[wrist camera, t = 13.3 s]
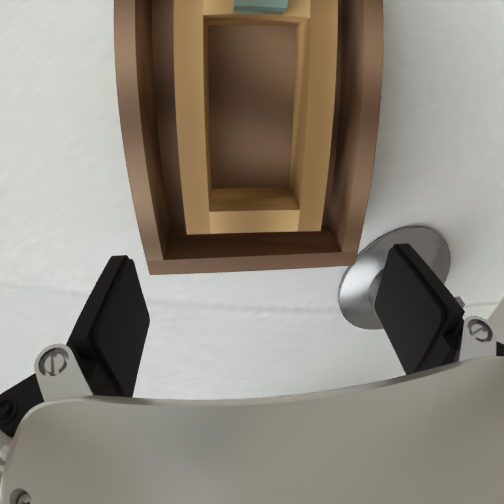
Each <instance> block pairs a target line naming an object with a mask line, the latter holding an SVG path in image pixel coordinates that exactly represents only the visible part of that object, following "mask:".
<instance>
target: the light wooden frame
mask: <svg viewBox="0 0 504 504" xmlns="http://www.w3.org/2000/svg"><path fill="white" fill-rule="evenodd" d="M238 24H246V25H277V26H291V27H296V53H295V87H294V112H293V133H292V152H291V169H290V185H289V188H224V189H212V170H211V146H210V117H209V69H208V25H238ZM337 36H338V0H174V81H175V105H176V123H177V138H178V152H179V164H180V175H181V186H182V196H183V206H184V215H185V224H186V232H187V235H189V234H218V233H253V232H297V231H321V224H322V217H323V210H324V202H325V194H326V186H327V177H328V168H329V159H330V149H331V138H332V127H333V115H334V101H335V85H336V66H337Z"/></svg>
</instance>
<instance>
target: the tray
mask: <svg viewBox="0 0 504 504" xmlns="http://www.w3.org/2000/svg"><path fill="white" fill-rule="evenodd" d="M114 50H115V69H116V83H117V95H118V105H119V115H120V123H121V131H122V139H123V146H124V153H125V159H126V165H127V171H128V177H129V183H130V188H131V194H132V199H133V204H134V209H135V214H136V218H137V223H138V228H139V232H140V236H141V241H142V245H143V249H144V253H145V257H146V261H147V265H148V269H149V273H150V275H163V274H191V273H217V272H240V271H261V270H281V269H299V268H317V267H334V266H350V265H355V261H356V257H357V253H358V248H359V243H360V239H361V234H362V229H363V224H364V219H365V213H366V208H367V202H368V196H369V190H370V184H371V178H372V171H373V164H374V157H375V149H376V141H377V132H378V123H379V112H380V101H381V86H382V68H383V0H338V36H337V66H336V85H335V101H334V115H333V127H332V138H331V149H330V159H329V168H328V177H327V186H326V194H325V202H324V210H323V217H322V224H321V231H297V232H253V233H218V234H189V235H187V232H186V224H185V215H184V206H183V196H182V186H181V175H180V164H179V152H178V138H177V123H176V105H175V81H174V0H114ZM295 53H296V27H291V26H277V25H246V24H238V25H208V69H209V117H210V146H211V170H212V189H224V188H289V185H290V169H291V152H292V133H293V112H294V87H295Z"/></svg>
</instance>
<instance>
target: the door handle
mask: <svg viewBox="0 0 504 504" xmlns="http://www.w3.org/2000/svg"><path fill="white" fill-rule="evenodd" d="M403 243H408V244H410V245H411V246H412V247H413V249H414V250H415V251H416V252H417V253H418V254H419V255H420V257H421V258H422V259H423V260H424V261H425V262H426V264H427V265H428V266H429V267H430V268H431V269H432V271H433V272H434V273H435V274H436V275H437V277H438V278H439V279H440V280H441V282H442V283H443V284H444V282H445V280H446V278H447V275H448V272H449V268H450V252H449V248H448V246H447V244H446V242H445V241H444V239H443V238H442V237H441V236H440V235H439V234H438V233H436V232H435V231H433V230H431V229H429V228H425V227H418V226H413V227H405V228H401V229H397V230H394V231H392V232H389V233H387V234H385V235H383V236H382V237H380V238H378V239H377V240H375V241H374V242H372V243H371V244H370V245H368V246H367V247H366V248H365V249H364V250H363V251H361V252H360V254H359V255H358V256H357V257H356V261H355V265H350V266H349V267H348V269H347V270H346V272H345V274H344V276H343V278H342V280H341V284H340V287H339V293H338V302H339V306H340V309H341V311H342V314H343V316H344V317H345V318H346V320H348V321H349V322H350V323H351V324H353V325H355V326H357V327H360V328H363V329H383V328H384V327H383V325H382V324H381V322H380V320H379V318H378V316H377V314H376V312H375V309H374V302H375V299H376V295H377V292H378V288H379V285H380V282H381V278H382V274H383V271H384V267H385V263H386V260H387V256H388V252H389V249H390V248H392V247H393V245H394V244H403ZM454 298H455V299H456V301H457V302H458V303H459V305H460V306H461V307H462V309H463V307H464V305H465V304H464V302H463V301H462V299H461V298H460V297H454Z"/></svg>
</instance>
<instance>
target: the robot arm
mask: <svg viewBox="0 0 504 504" xmlns="http://www.w3.org/2000/svg"><path fill="white" fill-rule="evenodd" d="M374 309H375V312H376V314H377V316H378V318H379V320H380V322H381V324H382V325H383V327H384V329H385V331H386V333H387V335H388V337H389V339H390V342H391V344H392V346H393V348H394V350H395V352H396V354H397V356H398V358H399V360H400V362H401V364H402V367H403V369H404V371H405V373H406V375H405V376H401V377H397V378H392V379H388V380H383V381H378V382H374V383H369V384H363V385H358V386H352V387H347V388H341V389H334V390H328V391H321V392H313V393H305V394H296V395H287V396H276V397H263V398H248V399H224V400H176V399H147V398H132V396H133V392H134V387H135V383H136V378H137V373H138V369H139V365H140V360H141V356H142V352H143V348H144V344H145V339H146V335H147V332H148V328H149V323H150V318H149V313H148V310H147V307H146V303H145V300H144V297H143V293H142V290H141V286H140V283H139V279H138V276H137V272H136V268H135V264H134V261H133V260H132V259H129V258H128V256H127V255H123V256H112V257H111V258H110V259H109V261H108V263H107V265H106V266H105V268H104V270H103V272H102V274H101V276H100V277H99V279H98V281H97V283H96V285H95V287H94V289H93V290H92V292H91V294H90V296H89V298H88V300H87V302H86V304H85V306H84V308H83V310H82V312H81V314H80V316H79V318H78V320H77V322H76V324H75V326H74V329H73V331H72V333H71V335H70V337H69V339H68V342H67V344H66V345H63V344H53V345H51V346H48V347H47V348H45V349H44V350H42V351H41V353H40V354H39V355H38V357H37V358H36V360H35V365H34V368H35V374H33V375H31V376H30V377H28V378H26V379H25V380H23V381H22V382H20V383H18V384H17V385H15V386H13V387H12V388H10V389H8V390H7V391H5V392H3V393H2V394H0V504H504V345H503V344H501V343H499V342H497V341H496V332H495V330H494V328H493V326H492V325H491V324H490V323H489V322H488V321H486V320H485V319H483V318H481V317H478V316H470V317H468V318H467V319H466V320H465V321H464V320H463V318H462V317H463V315H464V313H465V311H464V310H463V309H462V307H461V306H460V305H459V303H458V302H457V301H456V299H455V298H454V297H453V296H452V294H451V293H450V292H449V290H448V289H447V288H446V287H445V285H444V284H443V283H442V282H441V280H440V279H439V278H438V277H437V275H436V274H435V273H434V272H433V271H432V269H431V268H430V267H429V266H428V265H427V264H426V262H425V261H424V260H423V259H422V258H421V257H420V255H419V254H418V253H417V252H416V251H415V250H414V249H413V247H412V246H411V245H410V244H408V243H403V244H394V245H393V247H392V248H390V249H389V252H388V256H387V260H386V263H385V267H384V271H383V274H382V278H381V282H380V285H379V288H378V292H377V295H376V299H375V302H374Z"/></svg>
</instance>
